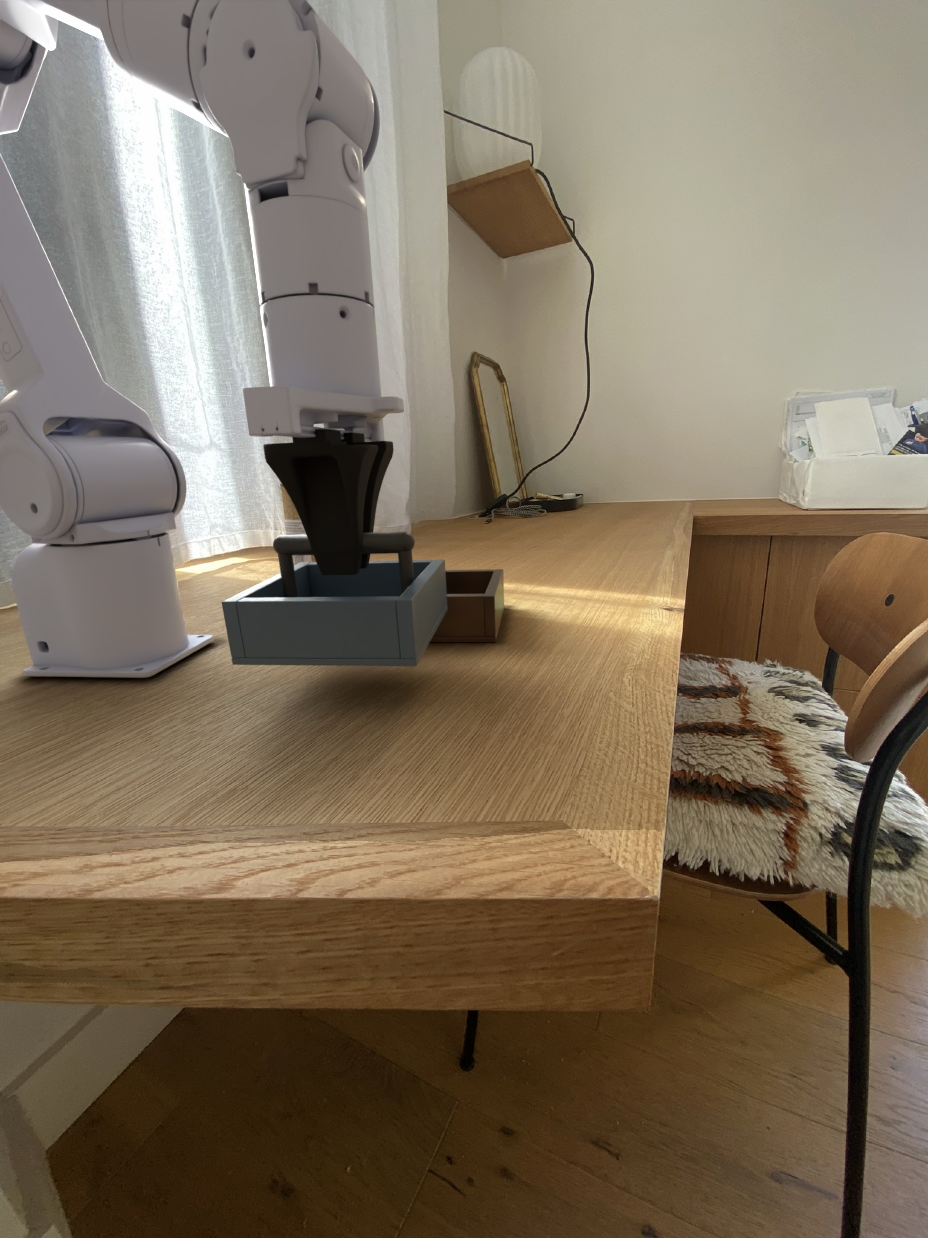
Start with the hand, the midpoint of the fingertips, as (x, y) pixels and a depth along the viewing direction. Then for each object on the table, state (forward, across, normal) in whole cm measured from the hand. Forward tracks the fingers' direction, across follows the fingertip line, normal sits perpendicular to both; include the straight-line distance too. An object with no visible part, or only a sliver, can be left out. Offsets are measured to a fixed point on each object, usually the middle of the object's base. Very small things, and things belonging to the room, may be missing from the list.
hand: (345, 571), depth 32 cm
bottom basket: (+7, +13, -3) cm, 15 cm away
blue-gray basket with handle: (+4, 0, 0) cm, 4 cm away
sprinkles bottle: (+7, +19, +10) cm, 23 cm away
